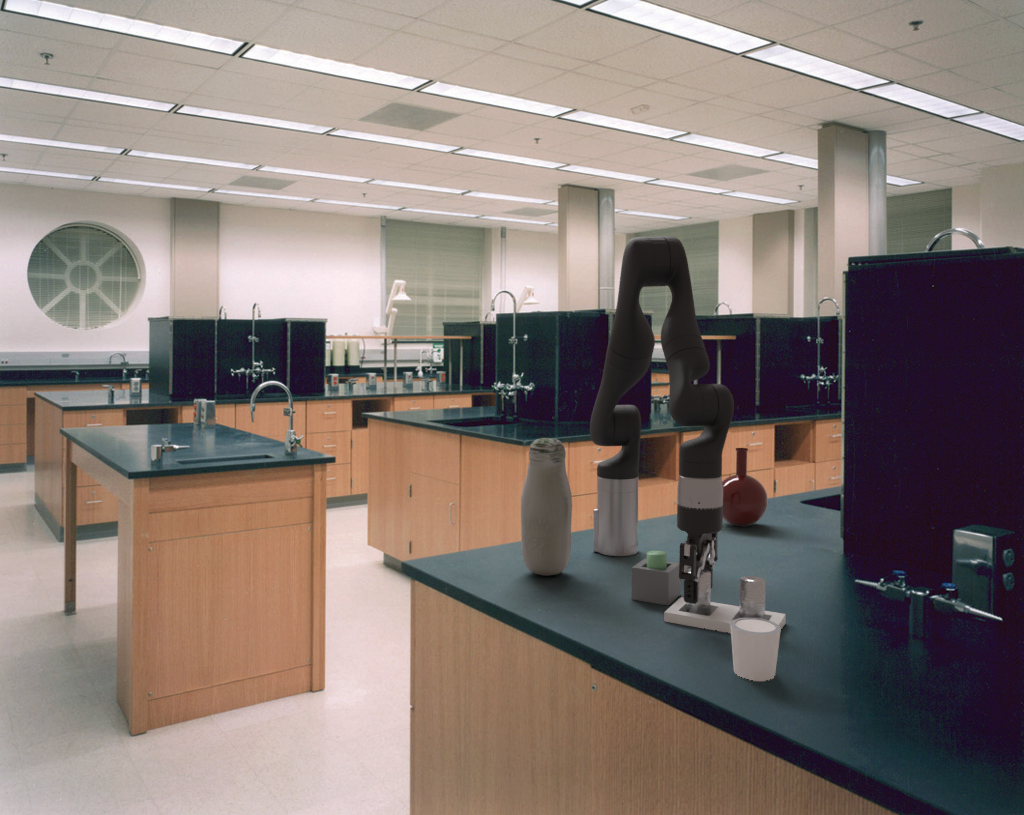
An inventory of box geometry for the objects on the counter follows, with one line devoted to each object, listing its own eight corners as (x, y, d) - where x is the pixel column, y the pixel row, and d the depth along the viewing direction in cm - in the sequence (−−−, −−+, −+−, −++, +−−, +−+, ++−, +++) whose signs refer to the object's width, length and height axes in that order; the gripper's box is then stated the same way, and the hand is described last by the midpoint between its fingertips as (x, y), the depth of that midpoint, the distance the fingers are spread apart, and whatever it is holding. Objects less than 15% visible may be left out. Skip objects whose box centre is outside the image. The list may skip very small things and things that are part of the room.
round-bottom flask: (706, 520, 206) (707, 445, 205) (754, 519, 208) (755, 444, 206) (725, 532, 193) (726, 452, 192) (776, 530, 195) (777, 451, 193)
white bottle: (514, 577, 156) (513, 439, 154) (534, 564, 166) (534, 434, 163) (559, 584, 152) (559, 442, 150) (578, 570, 161) (578, 436, 159)
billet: (683, 619, 132) (683, 573, 132) (690, 612, 136) (690, 567, 135) (706, 623, 130) (707, 576, 130) (712, 616, 134) (713, 570, 133)
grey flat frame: (664, 621, 131) (664, 612, 131) (680, 605, 139) (681, 597, 139) (774, 641, 122) (774, 631, 122) (785, 623, 130) (785, 614, 130)
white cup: (722, 663, 114) (723, 617, 113) (767, 662, 115) (768, 615, 114) (739, 684, 107) (741, 634, 107) (788, 682, 108) (789, 633, 107)
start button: (643, 586, 143) (644, 554, 143) (650, 581, 146) (650, 549, 146) (662, 589, 141) (662, 556, 141) (668, 583, 145) (669, 552, 144)
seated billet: (736, 628, 128) (737, 581, 127) (742, 621, 131) (743, 574, 131) (761, 633, 126) (762, 584, 125) (766, 625, 129) (767, 578, 129)
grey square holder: (631, 599, 143) (631, 567, 142) (645, 588, 149) (645, 558, 148) (668, 605, 139) (668, 572, 139) (680, 594, 145) (681, 563, 145)
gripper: (710, 512, 123) (708, 611, 125) (733, 496, 136) (731, 587, 137) (664, 507, 127) (663, 604, 128) (690, 492, 139) (689, 581, 141)
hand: (698, 595), depth 133 cm, fingers open, 8 cm apart
